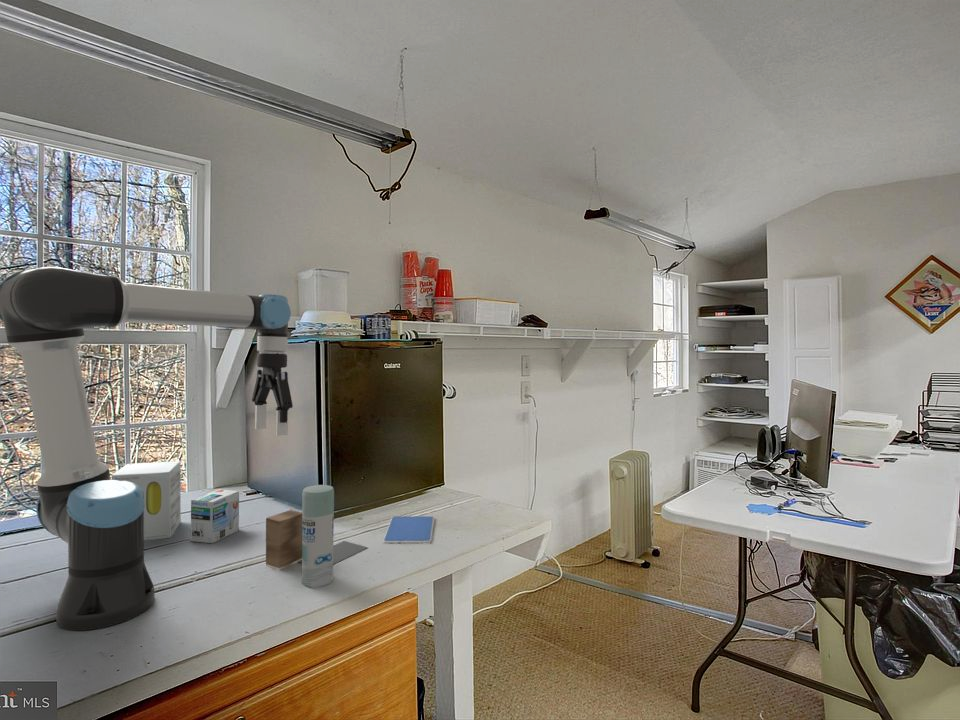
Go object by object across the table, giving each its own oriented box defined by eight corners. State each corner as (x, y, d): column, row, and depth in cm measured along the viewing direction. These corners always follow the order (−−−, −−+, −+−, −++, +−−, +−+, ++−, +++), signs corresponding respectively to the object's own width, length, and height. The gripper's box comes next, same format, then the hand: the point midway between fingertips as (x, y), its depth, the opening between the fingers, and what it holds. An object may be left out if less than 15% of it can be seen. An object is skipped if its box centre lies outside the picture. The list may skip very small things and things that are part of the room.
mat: (322, 569, 118) (322, 569, 118) (297, 562, 122) (297, 561, 122) (367, 547, 131) (367, 547, 131) (343, 541, 135) (343, 540, 135)
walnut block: (279, 570, 118) (279, 521, 117) (265, 565, 120) (266, 518, 119) (303, 559, 124) (303, 513, 123) (290, 555, 126) (290, 509, 125)
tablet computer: (431, 545, 134) (431, 540, 134) (381, 545, 134) (381, 540, 134) (434, 520, 154) (434, 516, 154) (391, 520, 153) (391, 515, 153)
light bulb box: (212, 544, 132) (212, 501, 131) (189, 541, 133) (189, 499, 133) (240, 529, 142) (240, 490, 142) (218, 527, 144) (218, 488, 143)
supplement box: (110, 544, 131) (109, 474, 130) (126, 526, 143) (126, 463, 143) (170, 538, 135) (170, 471, 134) (181, 521, 148) (181, 460, 147)
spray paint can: (339, 581, 112) (339, 489, 112) (310, 591, 108) (311, 495, 107) (324, 571, 117) (324, 483, 116) (296, 580, 113) (296, 488, 112)
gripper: (307, 354, 134) (305, 436, 134) (267, 352, 152) (265, 425, 152) (278, 353, 129) (276, 439, 129) (240, 351, 146) (238, 427, 147)
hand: (270, 431), depth 141 cm, fingers open, 13 cm apart
